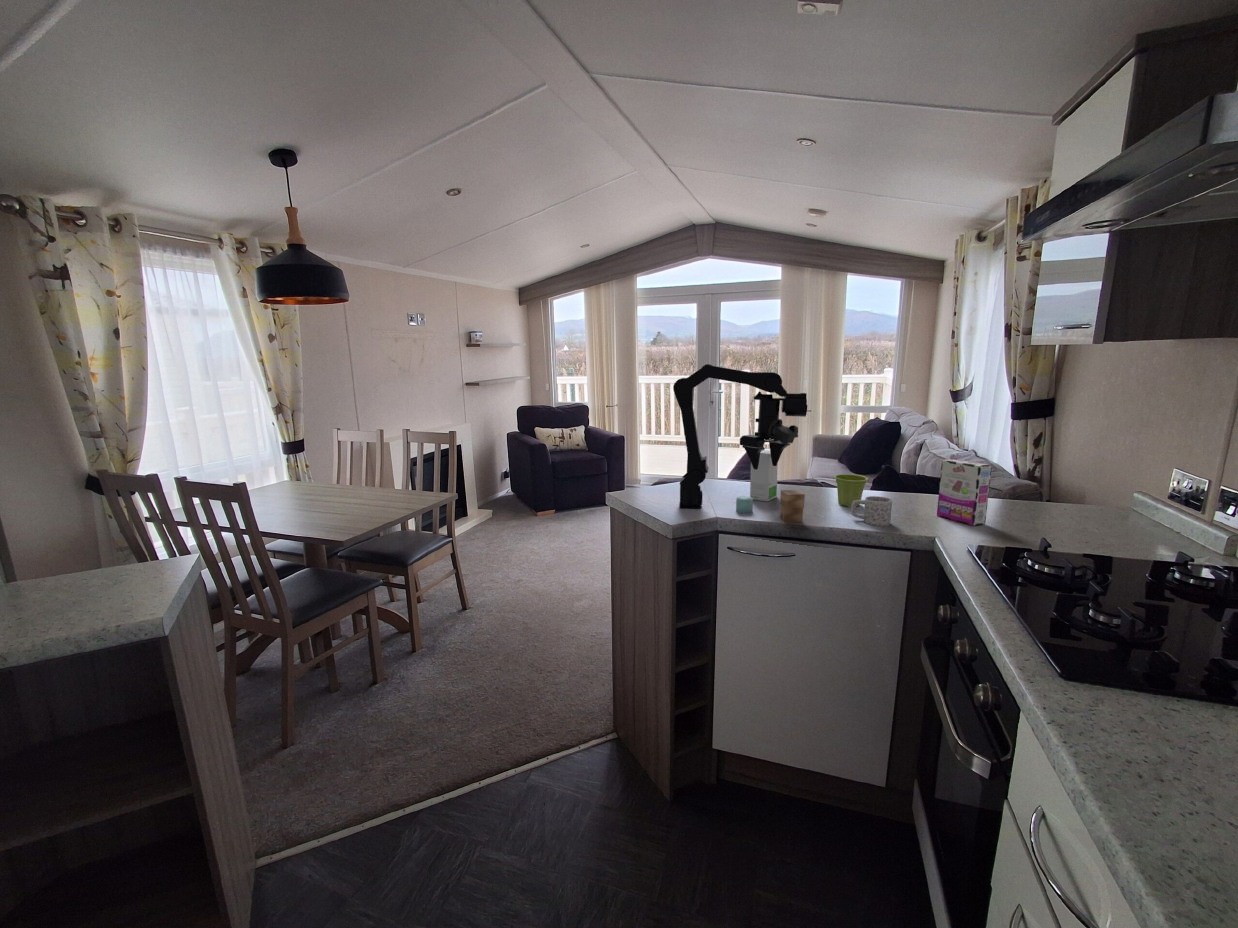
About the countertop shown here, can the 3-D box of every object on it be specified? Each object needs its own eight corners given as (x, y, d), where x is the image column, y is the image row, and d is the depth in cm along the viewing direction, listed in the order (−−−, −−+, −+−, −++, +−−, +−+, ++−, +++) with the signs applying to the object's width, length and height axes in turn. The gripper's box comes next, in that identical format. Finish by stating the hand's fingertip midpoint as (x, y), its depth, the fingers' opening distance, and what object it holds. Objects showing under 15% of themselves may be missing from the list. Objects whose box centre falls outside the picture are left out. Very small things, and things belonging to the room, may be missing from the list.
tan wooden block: (786, 508, 146) (786, 494, 146) (780, 503, 151) (780, 490, 150) (804, 508, 146) (804, 494, 146) (797, 503, 151) (798, 489, 151)
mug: (891, 521, 147) (893, 497, 145) (889, 527, 141) (891, 503, 140) (852, 516, 152) (853, 493, 151) (848, 522, 146) (850, 499, 145)
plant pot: (859, 500, 168) (861, 474, 167) (870, 508, 159) (872, 480, 157) (829, 500, 169) (830, 474, 167) (838, 508, 160) (839, 480, 158)
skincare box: (767, 502, 168) (769, 453, 165) (748, 499, 172) (749, 452, 169) (777, 496, 175) (779, 450, 172) (758, 494, 179) (759, 448, 176)
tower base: (783, 522, 147) (784, 508, 147) (780, 517, 152) (781, 503, 152) (802, 522, 147) (803, 508, 146) (798, 517, 152) (798, 503, 151)
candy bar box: (986, 524, 142) (993, 464, 139) (973, 526, 141) (980, 466, 138) (948, 513, 153) (953, 457, 150) (935, 515, 151) (941, 459, 148)
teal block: (737, 513, 157) (737, 500, 156) (735, 509, 161) (735, 496, 161) (753, 513, 156) (754, 500, 155) (751, 509, 161) (751, 496, 160)
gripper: (772, 420, 143) (768, 476, 146) (811, 416, 155) (806, 468, 158) (740, 416, 152) (736, 469, 155) (778, 413, 163) (775, 462, 166)
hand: (765, 467), depth 158 cm, fingers open, 9 cm apart
